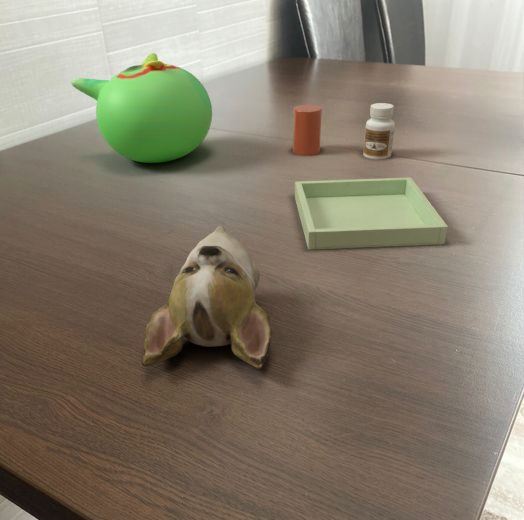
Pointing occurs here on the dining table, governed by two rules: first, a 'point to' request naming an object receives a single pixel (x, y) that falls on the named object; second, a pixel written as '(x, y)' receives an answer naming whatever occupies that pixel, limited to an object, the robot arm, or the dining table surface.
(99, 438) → the dining table surface
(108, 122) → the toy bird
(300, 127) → the terracotta cylinder
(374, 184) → the sage tray
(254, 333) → the ceramic sculpture
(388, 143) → the pill bottle
